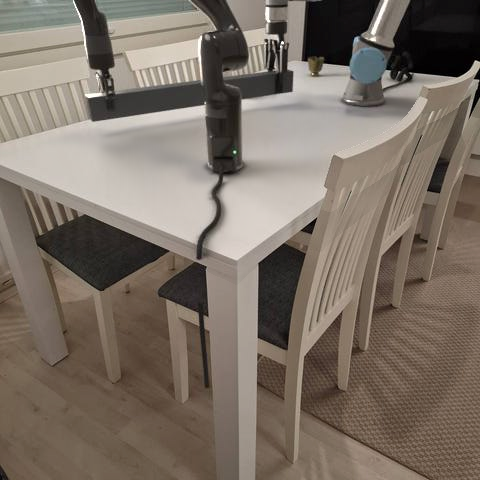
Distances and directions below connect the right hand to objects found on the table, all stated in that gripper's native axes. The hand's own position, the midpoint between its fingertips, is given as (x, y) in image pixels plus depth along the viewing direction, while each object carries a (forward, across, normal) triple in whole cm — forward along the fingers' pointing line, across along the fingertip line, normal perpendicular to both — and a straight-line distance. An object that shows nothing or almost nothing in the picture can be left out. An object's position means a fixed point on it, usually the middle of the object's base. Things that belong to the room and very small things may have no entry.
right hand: (275, 90), depth 165 cm
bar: (+1, 0, +30) cm, 31 cm away
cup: (+6, +35, -43) cm, 56 cm away
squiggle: (+6, +8, -70) cm, 71 cm away
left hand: (-2, 0, +61) cm, 61 cm away
